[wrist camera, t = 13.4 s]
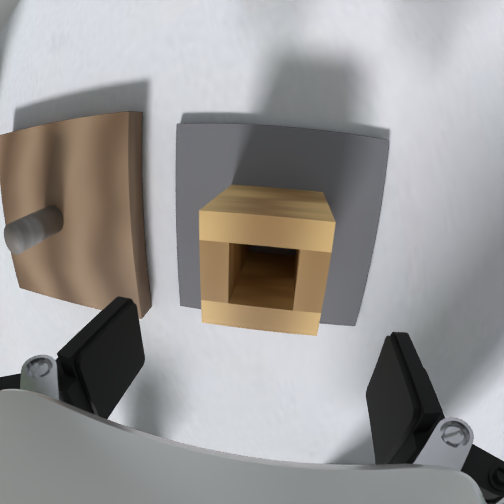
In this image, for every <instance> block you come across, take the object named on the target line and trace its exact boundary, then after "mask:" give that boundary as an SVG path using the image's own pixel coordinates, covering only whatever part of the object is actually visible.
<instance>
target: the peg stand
mask: <svg viewBox="0 0 504 504" xmlns="http://www.w3.org/2000/svg"><path fill="white" fill-rule="evenodd" d="M0 185H1V195H2V203H3V211H4V217H5V224H6V226H5V229H4V238H5V242H6V245H7V247H8V249H9V250H10V251H11V255H12V259H13V263H14V268H15V272H16V275H17V279H18V283H19V287H20V288H22V289H26V290H29V291H32V292H36V293H39V294H42V295H46V296H49V297H53V298H57V299H60V300H64V301H68V302H71V303H75V304H79V305H83V306H87V307H91V308H95V309H99V310H103V309H104V308H105V307H106V306H107V305H109V304H110V303H111V302H112V301H113V300H114V299H115V298H116V297H118V296H120V297H125V298H130V299H132V300H133V302H134V303H135V304H136V305H137V310H138V317H139V318H140V319H142V318H143V317H144V316H145V314H146V313H147V312H148V310H149V309H150V308H151V307H152V306H151V298H150V290H149V281H148V271H147V260H146V248H145V235H144V218H143V196H142V112H132V111H127V112H117V113H109V114H101V115H94V116H87V117H81V118H75V119H69V120H63V121H58V122H53V123H48V124H43V125H39V126H34V127H30V128H26V129H22V130H18V131H14V132H10V133H6V134H2V135H0Z"/></svg>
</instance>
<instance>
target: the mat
mask: <svg viewBox="0 0 504 504" xmlns="http://www.w3.org/2000/svg"><path fill="white" fill-rule="evenodd" d="M388 150H389V140H384V139H378V138H373V137H367V136H360V135H354V134H347V133H340V132H332V131H324V130H316V129H306V128H296V127H284V126H270V125H252V124H222V123H184V124H177V129H176V233H177V259H178V278H179V294H180V306H185V307H191V308H198V309H201V285H200V247H199V210H200V209H201V208H203V207H204V206H205V205H206V204H208V203H209V202H210V201H211V200H213V199H214V198H215V197H216V196H218V195H219V194H220V193H221V192H223V191H224V190H225V189H227V188H228V187H229V186H230V185H246V186H260V187H273V188H285V189H296V190H307V191H317V192H323V193H324V196H325V198H326V200H327V203H328V205H329V207H330V210H331V212H332V215H333V217H334V219H335V222H336V224H335V231H334V238H333V245H332V252H331V259H330V265H329V271H328V277H327V283H326V289H325V295H324V300H323V306H322V311H321V317H320V322H319V323H322V324H334V325H346V326H355V324H356V321H357V317H358V313H359V309H360V306H361V302H362V298H363V294H364V289H365V285H366V281H367V277H368V272H369V268H370V263H371V258H372V253H373V248H374V243H375V238H376V233H377V227H378V222H379V216H380V210H381V204H382V197H383V190H384V183H385V175H386V167H387V159H388ZM249 251H251V252H261V253H272V254H282V255H292V256H295V254H296V249H290V248H280V247H270V246H259V245H250V250H249Z"/></svg>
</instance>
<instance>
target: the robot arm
mask: <svg viewBox="0 0 504 504" xmlns="http://www.w3.org/2000/svg"><path fill="white" fill-rule="evenodd" d="M57 355H58V358H57V359H56V360H54V358H52V357H50V356H48V355H37V356H34V357H32V358H30V359H28V360H27V361H26V362H25V363H24V364H23V366H22V369H21V374H15V375H10V376H4V377H0V504H504V461H502V460H500V459H499V458H497V457H495V456H493V455H491V454H489V453H488V452H486V451H484V450H482V449H481V448H479V447H477V446H475V445H474V444H472V443H473V439H474V434H473V431H472V429H471V427H470V426H469V425H468V424H467V423H466V422H465V421H463V420H462V419H459V418H454V417H449V418H445V417H444V414H443V411H442V409H441V406H440V404H439V401H438V399H437V396H436V393H435V391H434V389H433V386H432V384H431V381H430V379H429V376H428V374H427V372H426V370H425V369H424V368H423V366H422V363H421V361H420V359H419V356H418V354H417V352H416V350H415V347H414V345H413V343H412V341H411V339H410V337H409V335H408V333H402V332H393V333H392V334H391V335H390V336H387V337H386V339H385V341H384V344H383V347H382V350H381V353H380V356H379V358H378V361H377V364H376V367H375V369H374V372H373V375H372V377H371V380H370V382H369V385H368V387H367V391H366V400H367V406H368V412H369V418H370V425H371V431H372V438H373V445H374V453H375V461H376V464H375V465H342V464H314V463H299V462H288V461H278V460H269V459H262V458H255V457H248V456H241V455H236V454H230V453H224V452H219V451H214V450H210V449H205V448H200V447H196V446H192V445H188V444H184V443H180V442H176V441H172V440H169V439H165V438H161V437H158V436H155V435H151V434H148V433H145V432H142V431H138V430H135V429H132V428H129V427H127V426H124V425H121V424H118V423H115V422H113V421H110V420H107V419H108V417H109V416H110V414H111V413H112V411H113V410H114V408H115V407H116V405H117V404H118V402H119V401H120V399H121V398H122V396H123V395H124V393H125V392H126V390H127V389H128V387H129V386H130V384H131V383H132V381H133V380H134V378H135V377H136V375H137V374H138V372H139V371H140V369H141V368H142V366H143V365H144V362H145V355H144V349H143V343H142V337H141V331H140V324H139V317H138V310H137V305H136V304H135V303H134V302H133V300H132V299H130V298H125V297H120V296H118V297H116V298H115V299H114V300H113V301H112V302H111V303H110V304H109V305H107V306H106V307H105V308H104V309H103V310H102V311H101V312H100V313H99V314H98V315H97V316H96V317H94V318H93V319H92V320H91V321H90V322H89V323H88V324H87V325H86V326H85V327H84V328H83V329H82V330H81V331H80V332H79V333H77V334H76V335H75V336H74V337H73V338H72V339H71V340H70V341H69V342H68V343H67V344H66V345H65V346H64V347H63V348H62V349H61V350H60V351H59V352H58V353H57Z"/></svg>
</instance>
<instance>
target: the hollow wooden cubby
mask: <svg viewBox="0 0 504 504" xmlns="http://www.w3.org/2000/svg"><path fill="white" fill-rule="evenodd" d="M335 224H336V222H335V219H334V217H333V215H332V212H331V210H330V207H329V205H328V203H327V200H326V198H325V196H324V193H323V192H317V191H307V190H296V189H285V188H273V187H260V186H246V185H230V186H229V187H228V188H227V189H225V190H224V191H223V192H221V193H220V194H219V195H218V196H216V197H215V198H214V199H213V200H211V201H210V202H209V203H208V204H206V205H205V206H204V207H203V208H201V209H200V210H199V247H200V285H201V311H202V322H203V323H210V324H217V325H224V326H231V327H239V328H247V329H255V330H264V331H273V332H282V333H292V334H303V335H314V336H317V332H318V327H319V322H320V317H321V311H322V306H323V300H324V295H325V289H326V283H327V277H328V271H329V265H330V259H331V252H332V245H333V238H334V231H335ZM250 245H259V246H270V247H280V248H290V249H296V254H295V256H292V255H282V254H272V253H261V252H251V251H249V250H250Z"/></svg>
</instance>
